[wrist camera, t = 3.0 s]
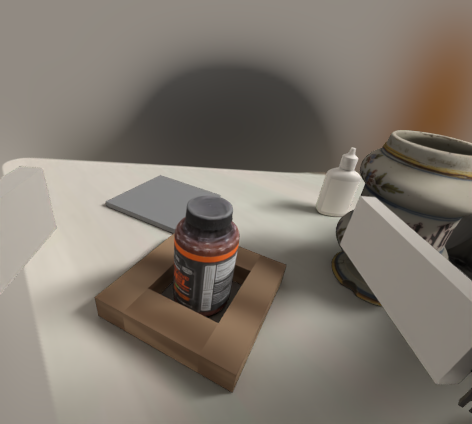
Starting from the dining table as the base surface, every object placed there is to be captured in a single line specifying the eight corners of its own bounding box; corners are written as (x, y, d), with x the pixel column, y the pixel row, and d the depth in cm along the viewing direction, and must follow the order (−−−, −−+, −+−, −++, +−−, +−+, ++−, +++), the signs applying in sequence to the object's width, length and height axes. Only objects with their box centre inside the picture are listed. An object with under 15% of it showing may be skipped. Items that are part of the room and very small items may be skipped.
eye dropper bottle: (344, 222, 46) (371, 156, 40) (313, 211, 48) (334, 146, 42) (347, 212, 50) (372, 149, 44) (317, 202, 52) (337, 141, 46)
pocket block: (183, 240, 36) (184, 225, 35) (281, 280, 32) (286, 264, 31) (98, 315, 25) (94, 297, 24) (232, 392, 21) (236, 375, 20)
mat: (160, 179, 52) (160, 175, 51) (220, 199, 48) (220, 195, 47) (106, 206, 41) (105, 201, 41) (176, 234, 37) (176, 230, 37)
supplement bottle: (163, 289, 29) (161, 196, 23) (209, 269, 32) (217, 184, 27) (191, 330, 25) (198, 232, 19) (240, 302, 29) (258, 212, 23)
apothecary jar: (305, 268, 35) (353, 127, 26) (349, 238, 42) (399, 121, 33) (400, 336, 28) (516, 174, 18) (434, 285, 35) (527, 153, 26)
